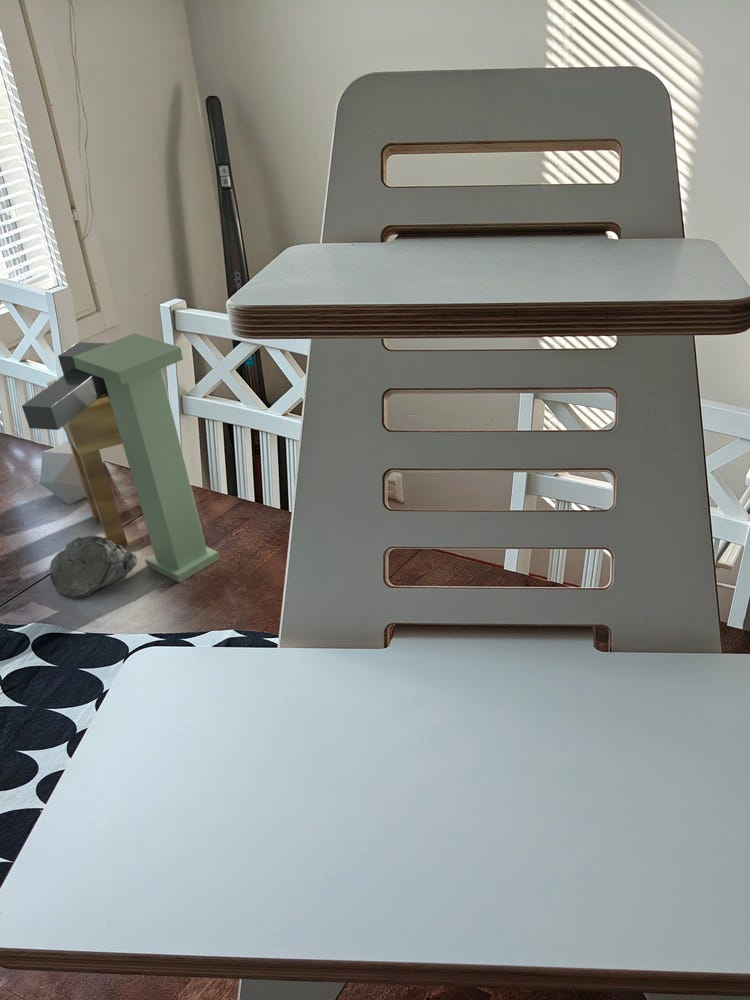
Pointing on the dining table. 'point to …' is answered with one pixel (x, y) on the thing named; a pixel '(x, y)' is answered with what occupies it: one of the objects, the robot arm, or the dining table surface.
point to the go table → (96, 461)
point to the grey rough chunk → (89, 565)
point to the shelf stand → (152, 449)
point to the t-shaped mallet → (65, 393)
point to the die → (62, 474)
